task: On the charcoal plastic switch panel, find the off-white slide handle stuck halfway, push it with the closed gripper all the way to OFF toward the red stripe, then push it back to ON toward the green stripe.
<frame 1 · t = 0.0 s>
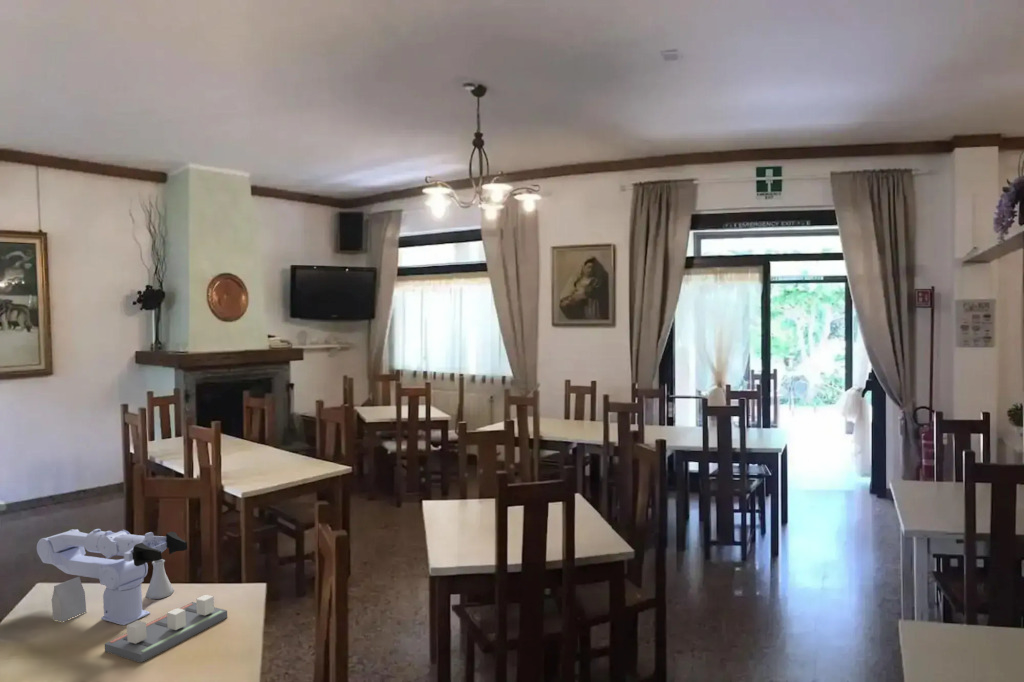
hand: (173, 550, 185), 21 cm above the table, tool horizontal, fingers open, 7 cm apart
grey paper bag: (70, 617, 196), on the table, touching arm
panel: (169, 633, 185), on the table
tripped switch: (136, 631, 177), point 5 cm above the table, slide at 3.0 cm
switch middle: (176, 618, 183), point 5 cm above the table, slide at 6.0 cm
flask: (159, 595, 210), on the table
switch far: (205, 604, 192), point 5 cm above the table, slide at 6.0 cm
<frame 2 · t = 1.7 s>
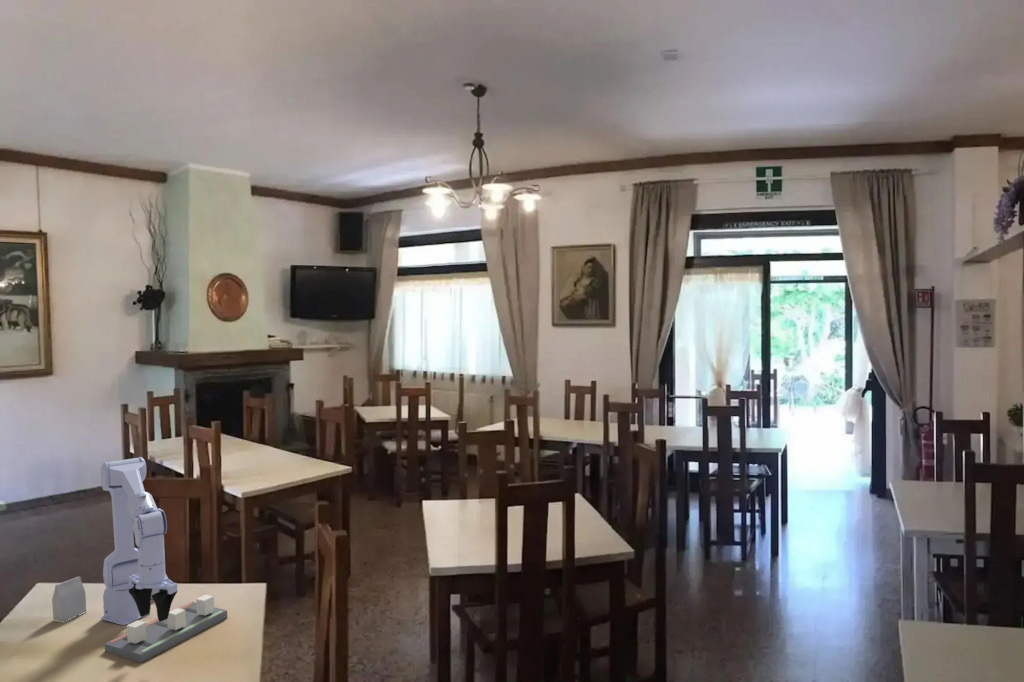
hand: (154, 617, 174), 9 cm above the table, tool pointing down, fingers open, 6 cm apart
grey paper bag: (70, 617, 196), on the table
everything else where it was.
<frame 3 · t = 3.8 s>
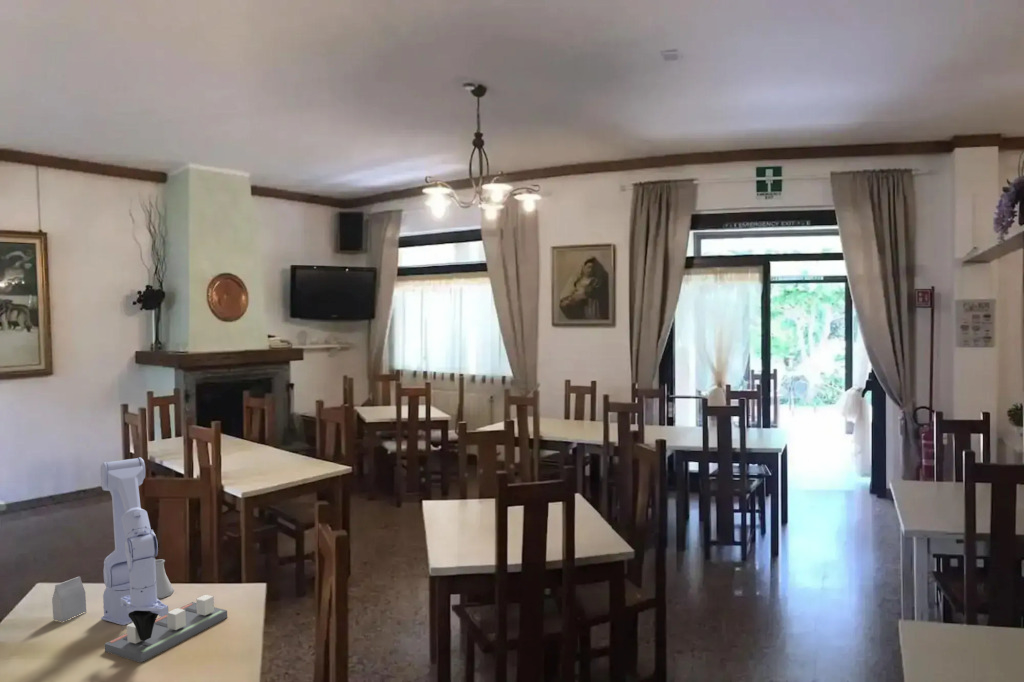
hand: (145, 638, 175), 3 cm above the table, tool pointing down, fingers closed
tripped switch: (136, 631, 177), point 5 cm above the table, slide at 3.0 cm, touching gripper
everything else where it was.
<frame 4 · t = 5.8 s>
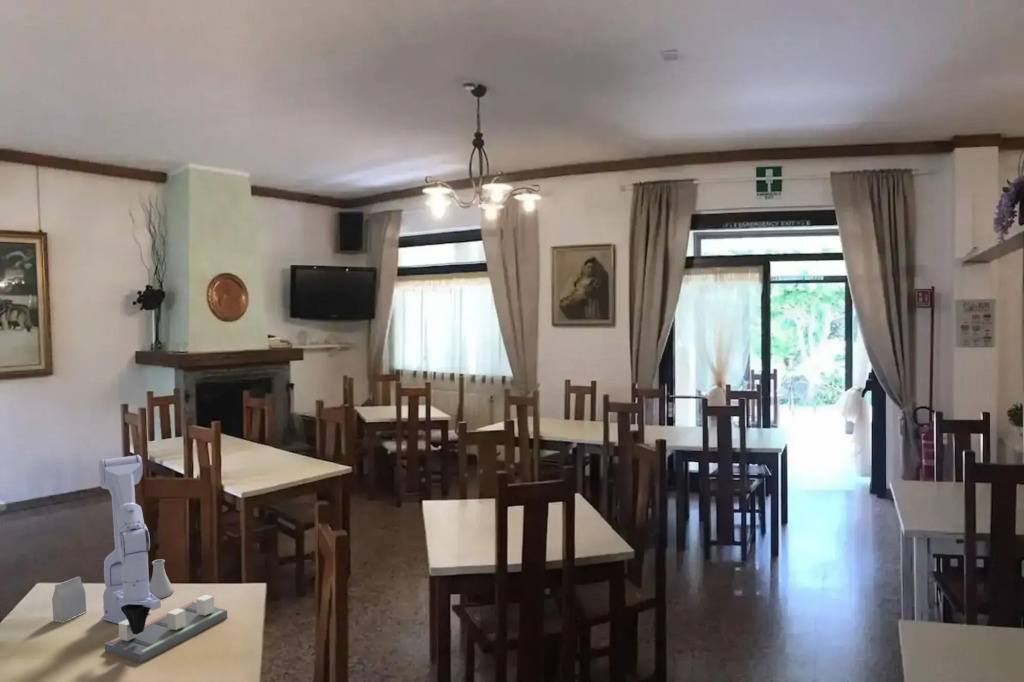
hand: (138, 632, 177), 4 cm above the table, tool pointing down, fingers closed
tripped switch: (128, 629, 178), point 5 cm above the table, slide at -0.1 cm
everything else where it was.
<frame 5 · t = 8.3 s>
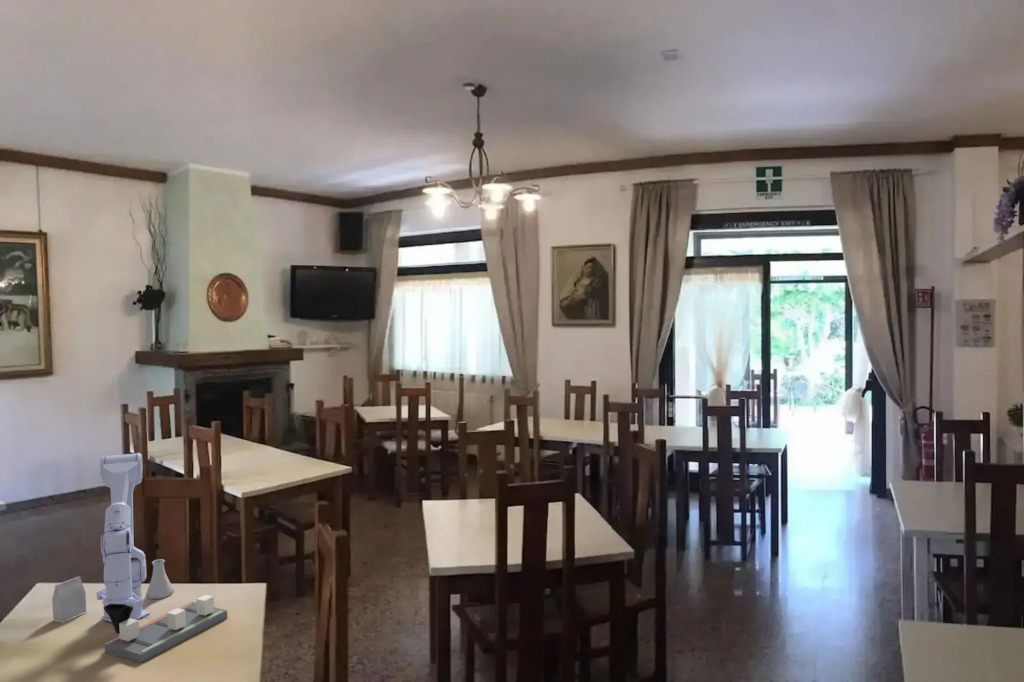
hand: (121, 631, 179), 3 cm above the table, tool pointing down, fingers closed
tripped switch: (129, 629, 178), point 5 cm above the table, slide at 0.2 cm, touching gripper
everything else where it was.
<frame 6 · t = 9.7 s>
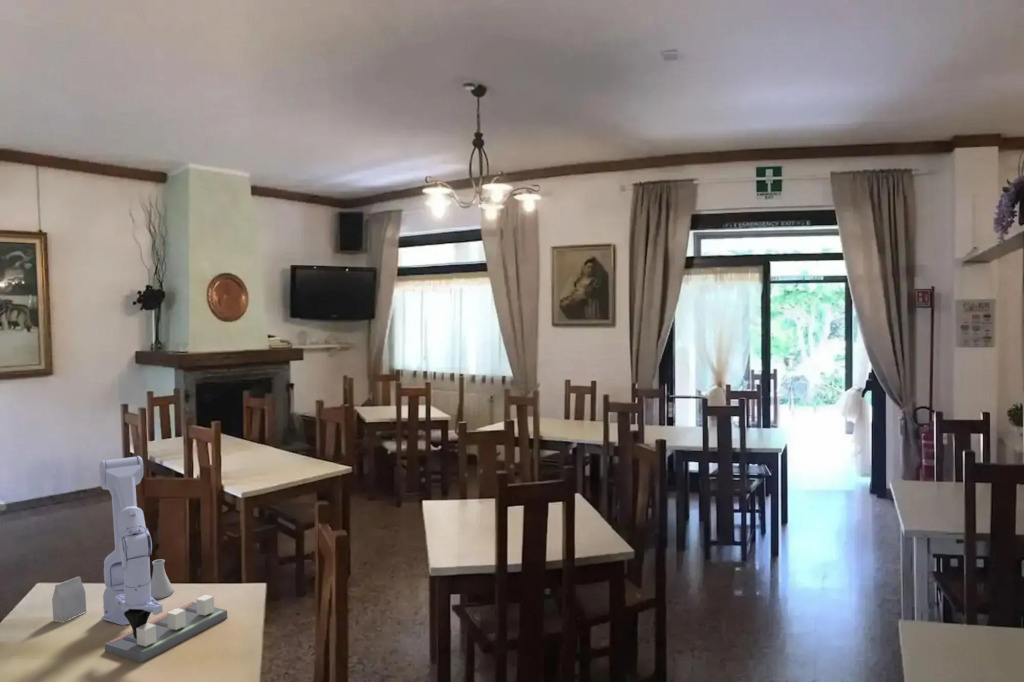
hand: (139, 637, 176), 3 cm above the table, tool pointing down, fingers closed
tripped switch: (146, 634, 175), point 5 cm above the table, slide at 6.5 cm, touching gripper
everything else where it was.
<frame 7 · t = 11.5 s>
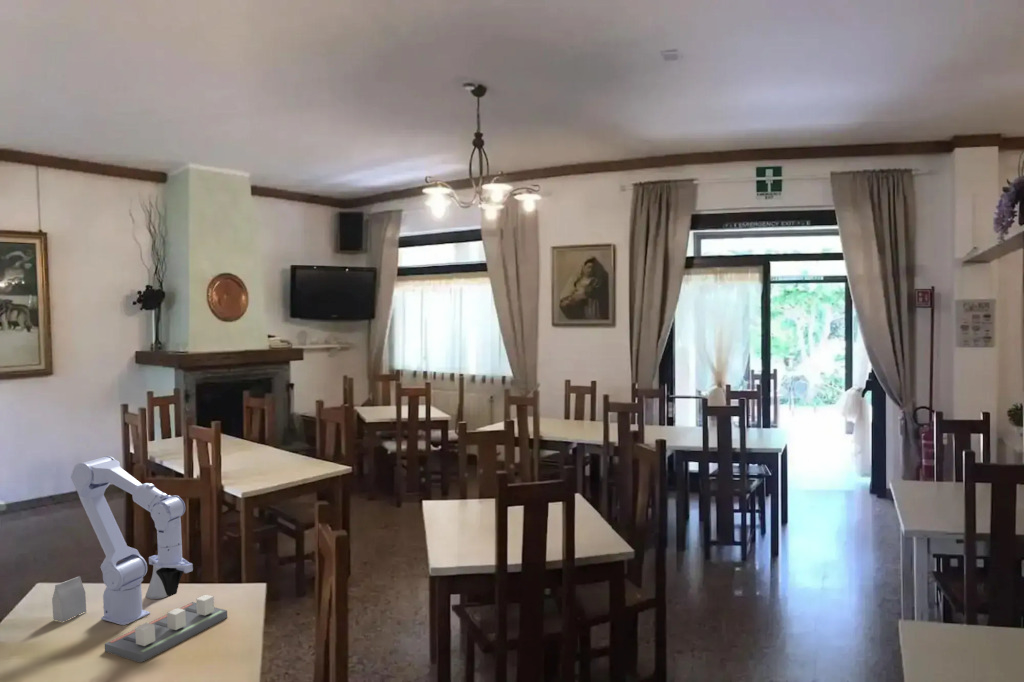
hand: (171, 594, 190), 8 cm above the table, tool pointing down, fingers closed
tripped switch: (145, 634, 175), point 5 cm above the table, slide at 6.1 cm
everything else where it was.
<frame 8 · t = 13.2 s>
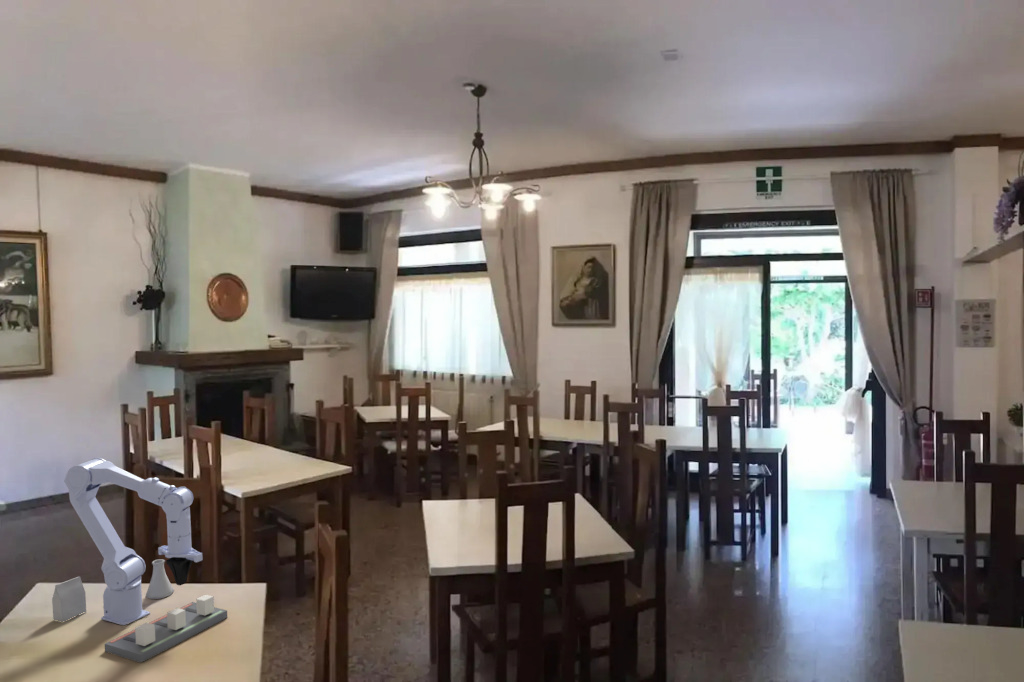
hand: (181, 583, 194), 9 cm above the table, tool pointing down, fingers closed
nothing on the table moved.
at the end: tripped switch slide at 6.1 cm; switch middle slide at 6.0 cm; switch far slide at 6.0 cm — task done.
